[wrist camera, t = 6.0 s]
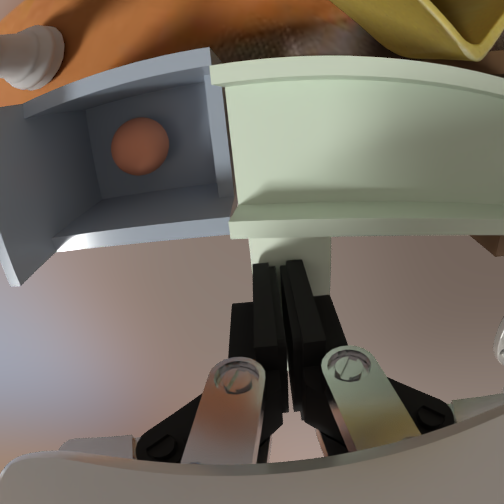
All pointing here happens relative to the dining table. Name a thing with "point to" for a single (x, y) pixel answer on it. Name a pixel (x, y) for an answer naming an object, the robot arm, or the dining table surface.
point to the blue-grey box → (105, 169)
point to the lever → (359, 153)
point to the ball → (140, 146)
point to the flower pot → (430, 26)
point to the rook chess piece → (31, 56)
